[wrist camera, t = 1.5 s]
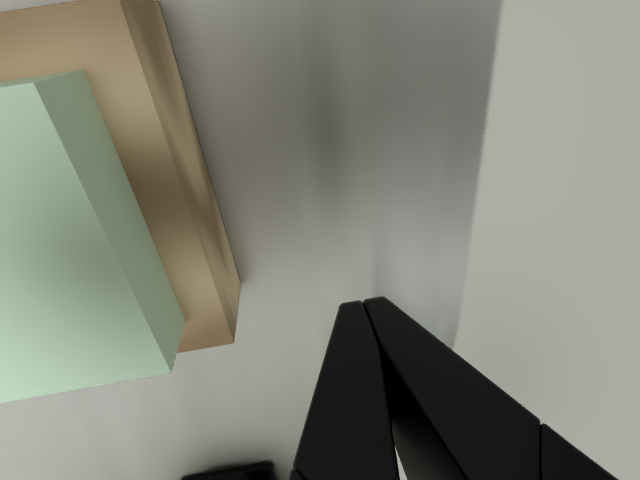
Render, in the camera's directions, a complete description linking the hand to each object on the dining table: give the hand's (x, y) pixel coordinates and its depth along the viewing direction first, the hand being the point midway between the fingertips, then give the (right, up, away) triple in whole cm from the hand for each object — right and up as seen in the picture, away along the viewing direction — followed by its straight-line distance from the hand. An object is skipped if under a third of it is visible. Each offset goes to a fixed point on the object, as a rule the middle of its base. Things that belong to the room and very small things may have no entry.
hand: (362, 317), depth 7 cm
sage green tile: (-9, +2, +5) cm, 11 cm away
